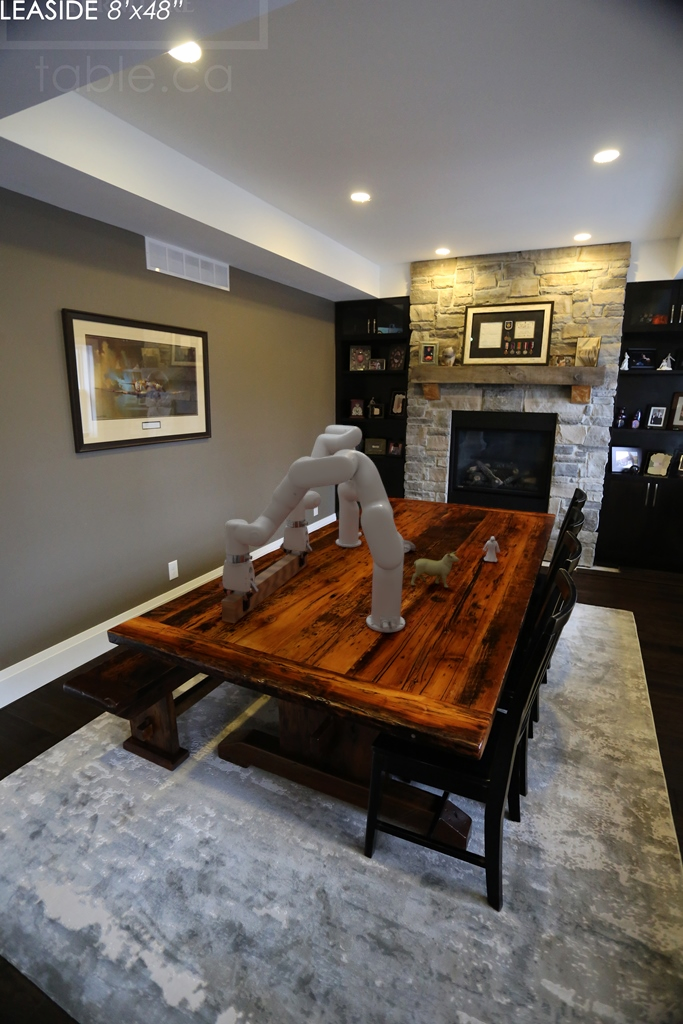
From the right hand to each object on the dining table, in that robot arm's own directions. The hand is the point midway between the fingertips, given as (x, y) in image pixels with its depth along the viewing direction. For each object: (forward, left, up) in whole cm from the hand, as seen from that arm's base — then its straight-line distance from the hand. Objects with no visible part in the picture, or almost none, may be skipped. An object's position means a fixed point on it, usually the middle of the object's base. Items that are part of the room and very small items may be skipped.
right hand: (239, 608), depth 168 cm
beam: (+21, -9, -2) cm, 23 cm away
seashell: (+63, -70, -2) cm, 95 cm away
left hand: (+41, -19, 0) cm, 45 cm away
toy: (+21, -72, -2) cm, 75 cm away
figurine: (+50, -106, -2) cm, 117 cm away
